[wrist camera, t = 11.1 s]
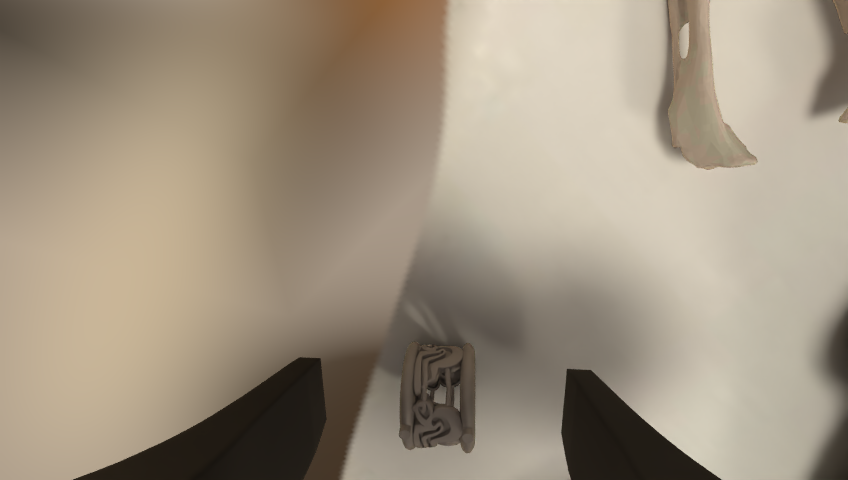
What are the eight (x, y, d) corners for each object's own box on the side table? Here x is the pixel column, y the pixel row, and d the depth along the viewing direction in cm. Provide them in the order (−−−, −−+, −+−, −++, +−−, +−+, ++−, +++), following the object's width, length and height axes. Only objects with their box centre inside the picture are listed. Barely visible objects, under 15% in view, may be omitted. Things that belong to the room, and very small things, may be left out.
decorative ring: (473, 406, 14) (474, 485, 11) (414, 403, 14) (399, 480, 11) (474, 325, 13) (475, 388, 10) (411, 323, 13) (394, 384, 10)
